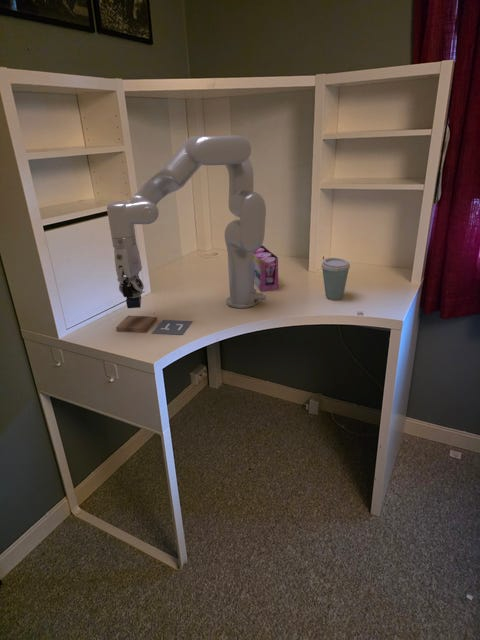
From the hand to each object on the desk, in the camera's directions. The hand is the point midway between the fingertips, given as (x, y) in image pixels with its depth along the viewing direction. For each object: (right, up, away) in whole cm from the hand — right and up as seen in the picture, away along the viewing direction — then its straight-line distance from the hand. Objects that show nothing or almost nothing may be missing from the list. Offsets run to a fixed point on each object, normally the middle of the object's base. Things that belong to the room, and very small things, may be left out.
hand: (132, 293), depth 145 cm
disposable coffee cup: (+74, -1, +21) cm, 77 cm away
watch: (0, -3, +4) cm, 5 cm away
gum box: (+47, +7, +42) cm, 63 cm away
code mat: (+13, -12, +3) cm, 18 cm away
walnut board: (+1, -11, +5) cm, 12 cm away
